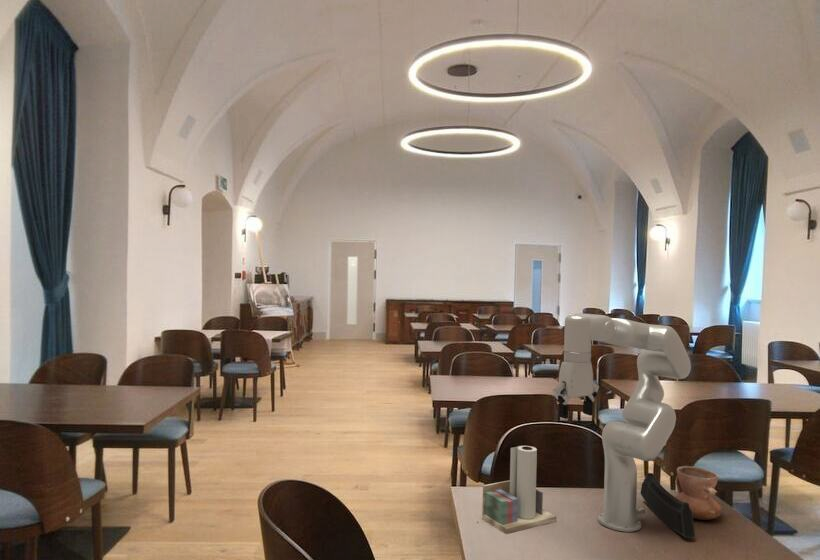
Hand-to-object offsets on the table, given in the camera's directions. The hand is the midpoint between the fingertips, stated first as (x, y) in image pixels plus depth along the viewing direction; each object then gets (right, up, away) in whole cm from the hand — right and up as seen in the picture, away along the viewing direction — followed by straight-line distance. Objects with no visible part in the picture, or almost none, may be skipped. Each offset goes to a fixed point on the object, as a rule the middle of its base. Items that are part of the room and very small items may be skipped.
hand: (575, 416), depth 163 cm
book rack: (-14, -36, +13) cm, 41 cm away
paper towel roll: (-12, -35, +13) cm, 39 cm away
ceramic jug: (+46, -38, +21) cm, 63 cm away
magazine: (+33, -38, +16) cm, 53 cm away
